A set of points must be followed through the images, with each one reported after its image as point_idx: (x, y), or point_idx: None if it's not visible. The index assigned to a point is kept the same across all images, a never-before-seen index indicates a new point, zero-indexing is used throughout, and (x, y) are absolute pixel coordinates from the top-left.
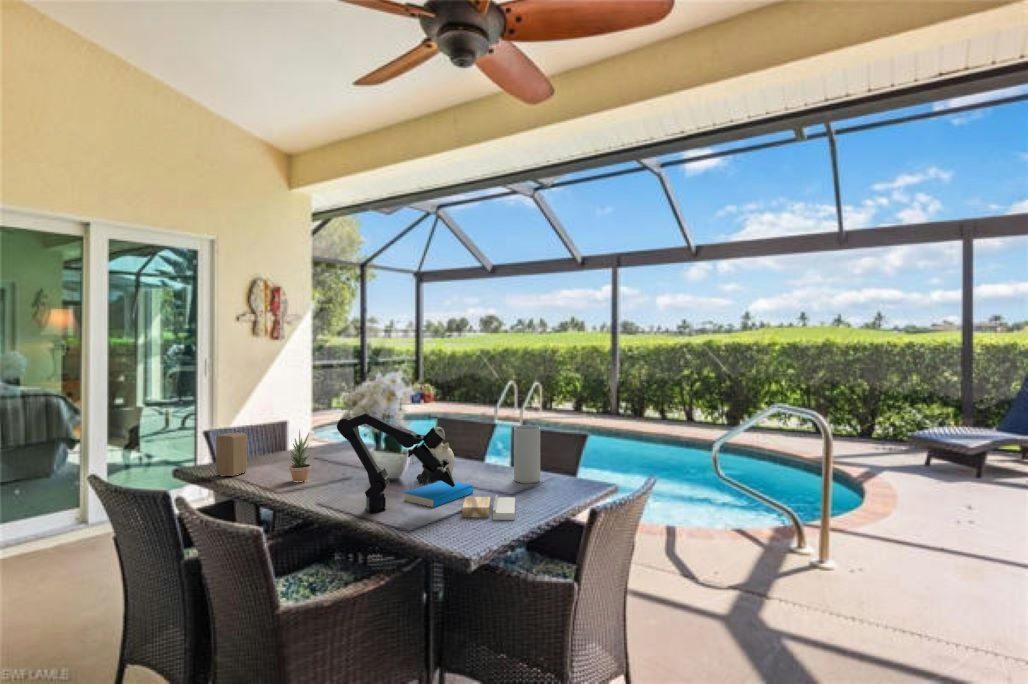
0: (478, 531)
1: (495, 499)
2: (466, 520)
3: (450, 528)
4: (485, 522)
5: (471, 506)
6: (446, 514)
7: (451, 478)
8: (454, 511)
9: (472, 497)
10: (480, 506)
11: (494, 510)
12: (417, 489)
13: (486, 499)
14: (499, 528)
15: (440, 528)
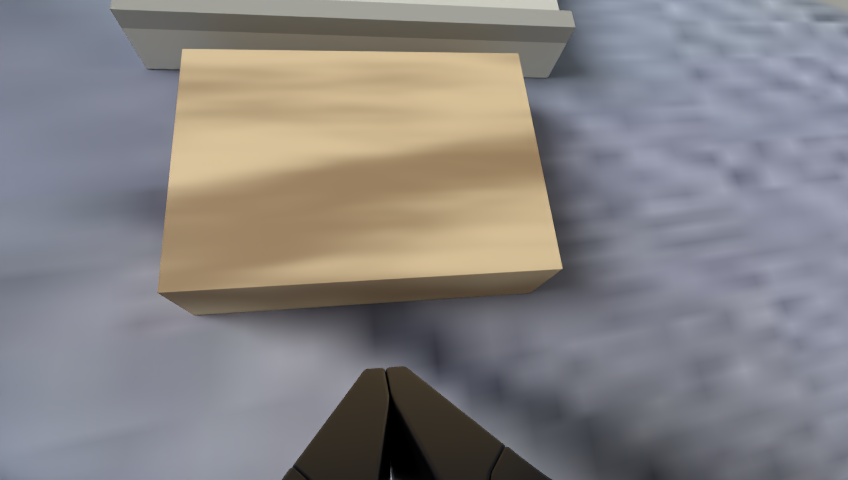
0: (780, 148)
1: (271, 10)
2: (604, 247)
3: (802, 339)
4: (611, 118)
5: (516, 188)
6: None
7: (461, 438)
8: None
9: (193, 212)
10: (503, 115)
11: (572, 19)
12: None
13: (275, 78)
14: (691, 41)
15: (832, 421)
